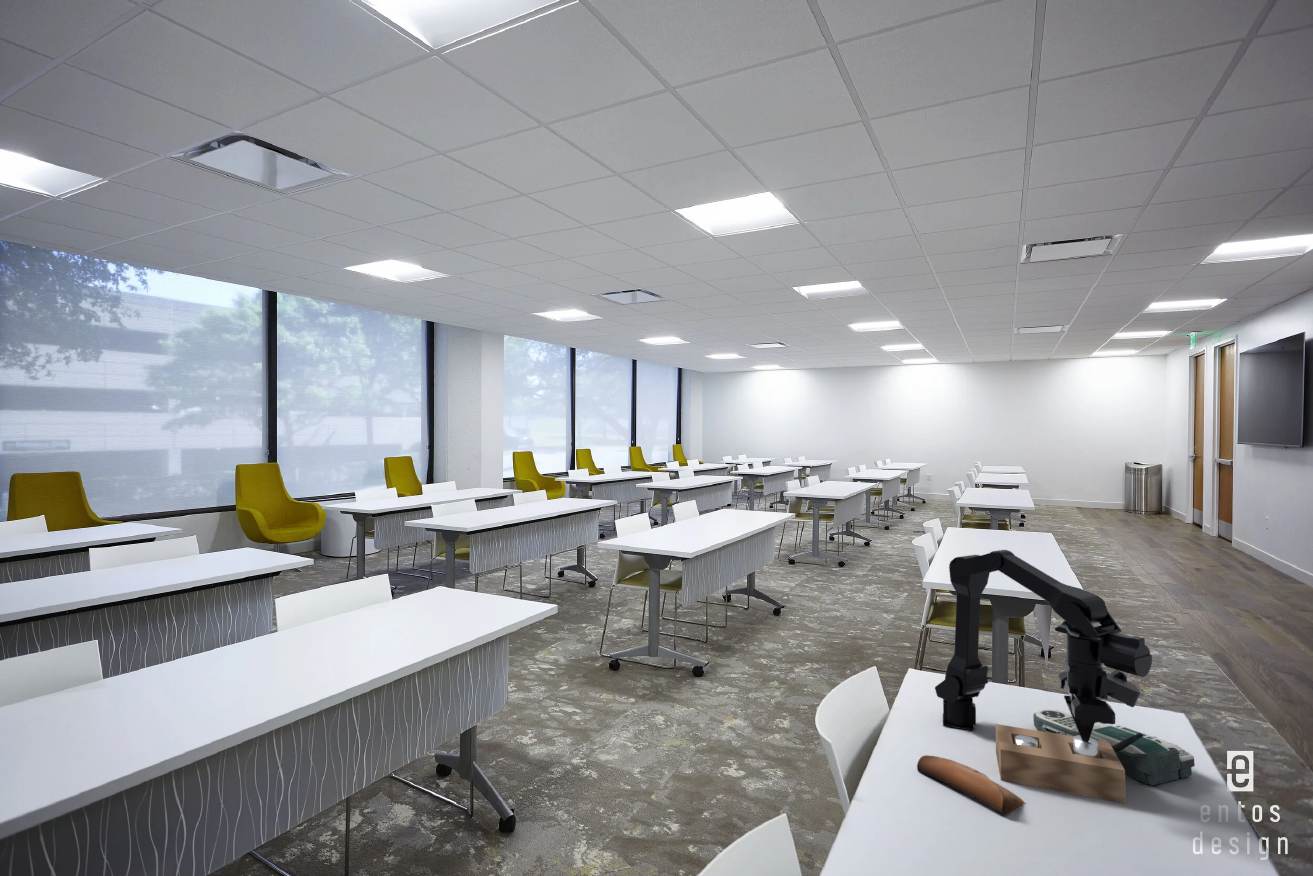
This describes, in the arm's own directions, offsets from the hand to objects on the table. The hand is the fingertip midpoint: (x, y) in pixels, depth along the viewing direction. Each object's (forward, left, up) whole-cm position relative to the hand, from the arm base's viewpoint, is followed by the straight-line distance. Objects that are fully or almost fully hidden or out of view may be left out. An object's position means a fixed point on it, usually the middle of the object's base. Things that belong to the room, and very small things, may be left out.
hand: (1085, 740), depth 123 cm
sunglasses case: (-20, -11, -9) cm, 25 cm away
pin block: (-5, 0, -8) cm, 9 cm away
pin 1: (-10, 0, -8) cm, 13 cm away
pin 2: (0, 0, -6) cm, 6 cm away
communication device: (+6, +16, -8) cm, 19 cm away
